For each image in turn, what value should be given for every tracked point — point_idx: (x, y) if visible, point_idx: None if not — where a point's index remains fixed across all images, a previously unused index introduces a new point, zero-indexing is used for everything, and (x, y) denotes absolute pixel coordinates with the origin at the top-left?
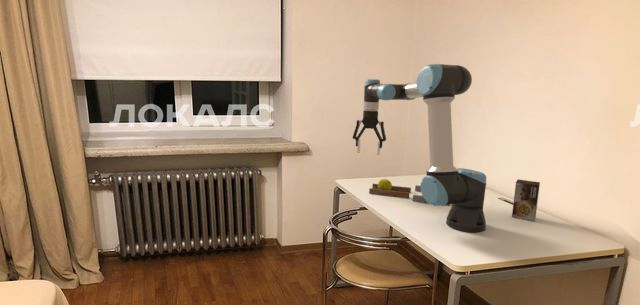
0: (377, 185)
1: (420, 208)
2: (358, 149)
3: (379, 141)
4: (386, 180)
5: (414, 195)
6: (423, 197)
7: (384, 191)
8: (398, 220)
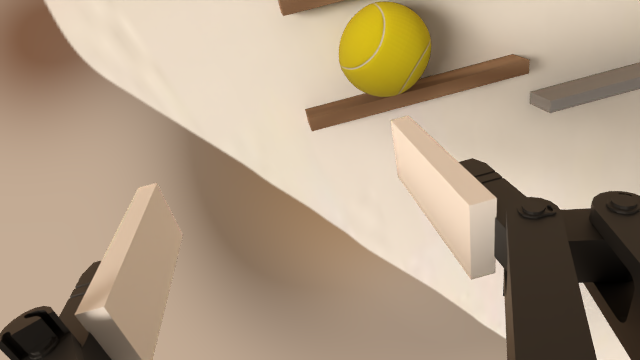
0: (316, 6)
1: (560, 172)
2: (171, 266)
3: (480, 207)
4: (410, 72)
5: (557, 110)
6: (596, 98)
7: (394, 106)
8: (492, 308)
